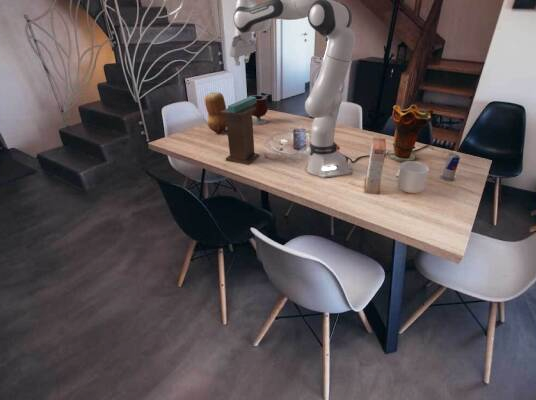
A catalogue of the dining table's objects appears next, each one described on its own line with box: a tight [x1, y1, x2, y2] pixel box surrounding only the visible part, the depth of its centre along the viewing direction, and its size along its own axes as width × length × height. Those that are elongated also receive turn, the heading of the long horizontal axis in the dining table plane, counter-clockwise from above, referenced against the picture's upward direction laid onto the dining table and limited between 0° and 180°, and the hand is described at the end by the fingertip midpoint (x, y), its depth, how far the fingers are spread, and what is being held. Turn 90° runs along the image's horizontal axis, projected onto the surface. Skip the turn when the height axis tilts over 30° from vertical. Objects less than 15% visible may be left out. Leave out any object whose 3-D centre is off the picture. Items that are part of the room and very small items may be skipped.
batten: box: [227, 95, 256, 113], centre depth 154 cm, size 22×4×3 cm, turn 160°
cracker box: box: [365, 137, 387, 194], centre depth 136 cm, size 14×6×21 cm, turn 168°
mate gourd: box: [248, 93, 270, 126], centre depth 216 cm, size 16×14×20 cm
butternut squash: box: [204, 91, 227, 134], centre depth 193 cm, size 14×13×25 cm
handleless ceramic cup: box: [396, 160, 430, 194], centre depth 137 cm, size 12×12×11 cm
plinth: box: [220, 107, 260, 165], centre depth 158 cm, size 14×13×26 cm
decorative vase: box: [386, 104, 434, 162], centre depth 166 cm, size 21×23×28 cm
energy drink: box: [441, 152, 461, 181], centre depth 148 cm, size 5×5×12 cm
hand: (241, 63), depth 159 cm, fingers open, 8 cm apart
